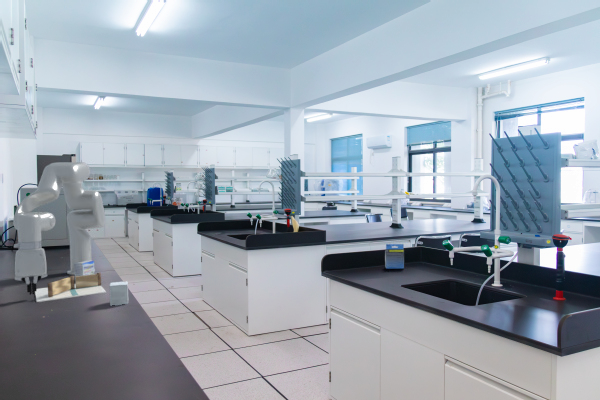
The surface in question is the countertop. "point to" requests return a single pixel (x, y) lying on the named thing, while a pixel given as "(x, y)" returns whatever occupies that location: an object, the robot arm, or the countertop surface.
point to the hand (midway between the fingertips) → (31, 293)
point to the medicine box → (84, 268)
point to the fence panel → (59, 286)
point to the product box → (118, 293)
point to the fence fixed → (86, 281)
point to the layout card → (68, 293)
